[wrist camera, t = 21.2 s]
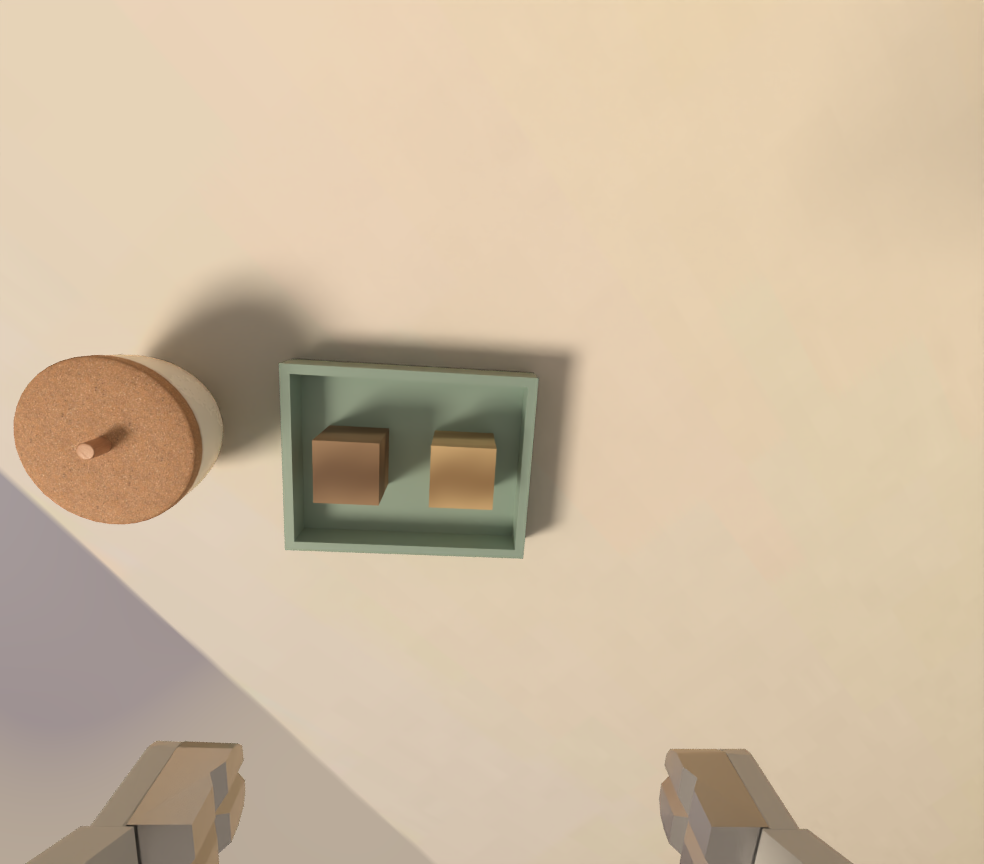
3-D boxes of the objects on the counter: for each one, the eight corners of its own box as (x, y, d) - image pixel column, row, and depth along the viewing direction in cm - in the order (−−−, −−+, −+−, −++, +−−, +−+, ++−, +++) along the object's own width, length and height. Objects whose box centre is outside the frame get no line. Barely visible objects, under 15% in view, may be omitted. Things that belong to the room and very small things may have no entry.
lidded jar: (174, 316, 37) (79, 319, 28) (276, 430, 40) (219, 467, 30) (69, 404, 38) (-55, 435, 29) (174, 510, 41) (90, 569, 32)
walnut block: (329, 425, 39) (312, 440, 35) (389, 428, 39) (379, 443, 35) (329, 481, 40) (313, 502, 36) (388, 483, 40) (378, 505, 36)
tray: (293, 358, 38) (278, 363, 35) (533, 372, 39) (538, 378, 36) (298, 532, 42) (284, 550, 39) (519, 540, 43) (523, 558, 40)
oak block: (435, 430, 39) (430, 445, 35) (493, 433, 40) (496, 448, 35) (432, 485, 41) (428, 507, 36) (489, 488, 41) (492, 510, 36)
